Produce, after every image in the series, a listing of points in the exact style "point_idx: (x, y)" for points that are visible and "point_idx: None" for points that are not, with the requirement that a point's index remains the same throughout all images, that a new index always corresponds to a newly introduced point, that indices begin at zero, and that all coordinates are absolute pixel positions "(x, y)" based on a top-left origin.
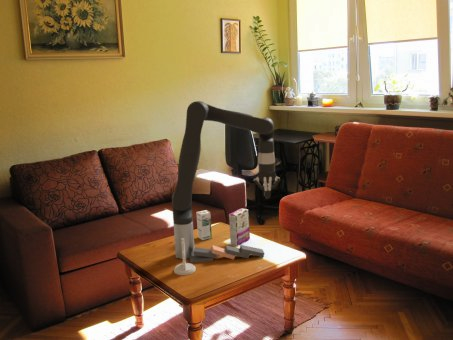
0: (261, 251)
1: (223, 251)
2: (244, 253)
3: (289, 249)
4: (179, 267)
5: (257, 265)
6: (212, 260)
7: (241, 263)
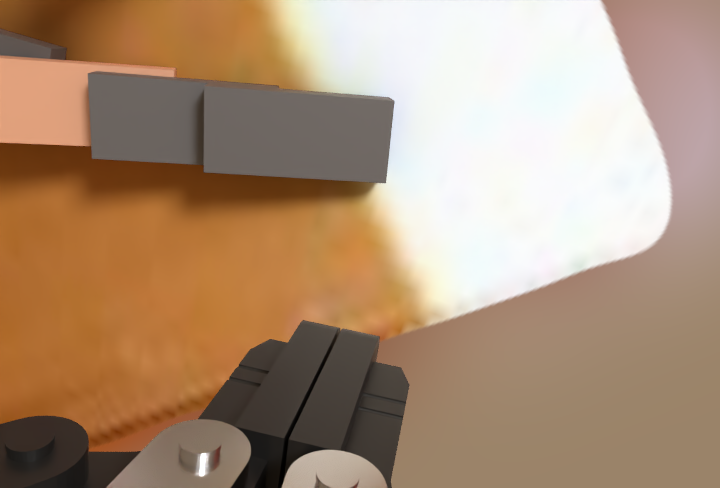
0: (370, 155)
1: (78, 130)
2: None
3: (633, 100)
4: None
5: (307, 285)
6: None
7: (216, 222)
